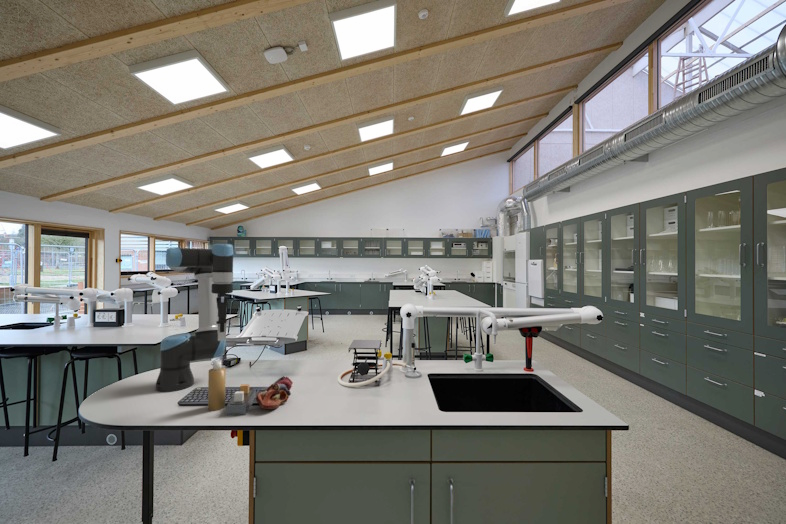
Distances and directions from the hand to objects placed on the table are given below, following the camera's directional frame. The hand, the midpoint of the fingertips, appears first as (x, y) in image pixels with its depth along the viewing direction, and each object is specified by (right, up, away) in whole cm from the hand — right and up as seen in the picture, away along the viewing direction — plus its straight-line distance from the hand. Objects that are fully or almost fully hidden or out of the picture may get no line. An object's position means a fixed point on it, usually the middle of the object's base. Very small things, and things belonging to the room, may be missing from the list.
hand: (221, 336), depth 137 cm
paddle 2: (+6, -25, +6) cm, 26 cm away
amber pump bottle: (-2, -28, +1) cm, 28 cm away
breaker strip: (+7, -28, +5) cm, 30 cm away
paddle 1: (+8, -25, -2) cm, 26 cm away
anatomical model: (+20, -29, +4) cm, 35 cm away
